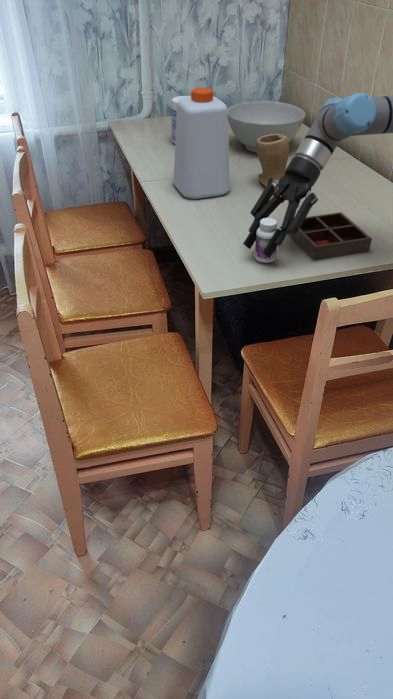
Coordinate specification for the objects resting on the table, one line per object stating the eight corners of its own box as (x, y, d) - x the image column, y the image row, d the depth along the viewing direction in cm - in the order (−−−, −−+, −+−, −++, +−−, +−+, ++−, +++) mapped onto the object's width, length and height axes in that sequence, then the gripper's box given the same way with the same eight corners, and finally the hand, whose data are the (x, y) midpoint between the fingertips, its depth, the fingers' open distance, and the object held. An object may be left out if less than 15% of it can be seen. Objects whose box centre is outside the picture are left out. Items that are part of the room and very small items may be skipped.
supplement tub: (167, 144, 195) (165, 100, 186) (180, 136, 202) (179, 94, 192) (190, 148, 192) (190, 104, 183) (203, 140, 198) (203, 97, 189)
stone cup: (248, 178, 171) (252, 129, 162) (284, 175, 173) (289, 127, 164) (263, 198, 160) (267, 147, 150) (301, 195, 162) (308, 144, 152)
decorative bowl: (303, 138, 201) (308, 103, 193) (297, 164, 181) (301, 127, 173) (232, 132, 206) (234, 98, 198) (218, 157, 185) (219, 120, 178)
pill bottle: (255, 251, 134) (258, 215, 128) (277, 253, 134) (281, 217, 128) (253, 262, 130) (255, 225, 124) (275, 264, 130) (279, 227, 123)
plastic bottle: (185, 202, 158) (184, 100, 140) (170, 182, 169) (167, 85, 151) (233, 195, 162) (238, 95, 144) (215, 176, 173) (218, 81, 155)
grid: (368, 251, 136) (371, 238, 134) (313, 260, 132) (315, 247, 130) (338, 224, 147) (341, 212, 145) (287, 232, 144) (288, 219, 141)
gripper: (345, 183, 124) (293, 271, 126) (282, 162, 135) (234, 243, 136) (335, 166, 118) (280, 259, 120) (270, 145, 128) (220, 231, 130)
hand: (256, 250), depth 128 cm, fingers closed on pill bottle, 5 cm apart
